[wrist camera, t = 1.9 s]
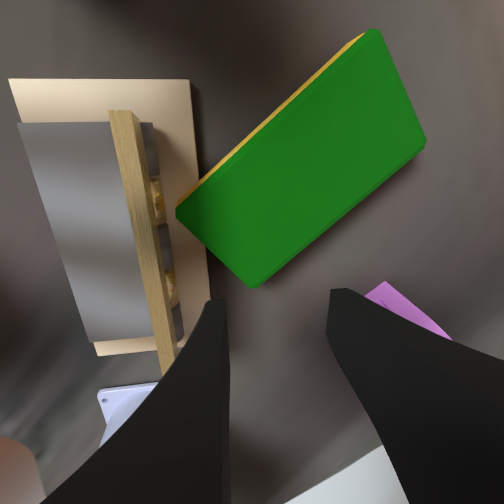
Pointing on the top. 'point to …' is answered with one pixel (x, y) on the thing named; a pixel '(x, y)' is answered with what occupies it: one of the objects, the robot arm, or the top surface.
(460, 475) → the robot arm
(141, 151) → the strip
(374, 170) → the dish sponge
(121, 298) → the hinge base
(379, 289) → the bracket
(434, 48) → the top surface
